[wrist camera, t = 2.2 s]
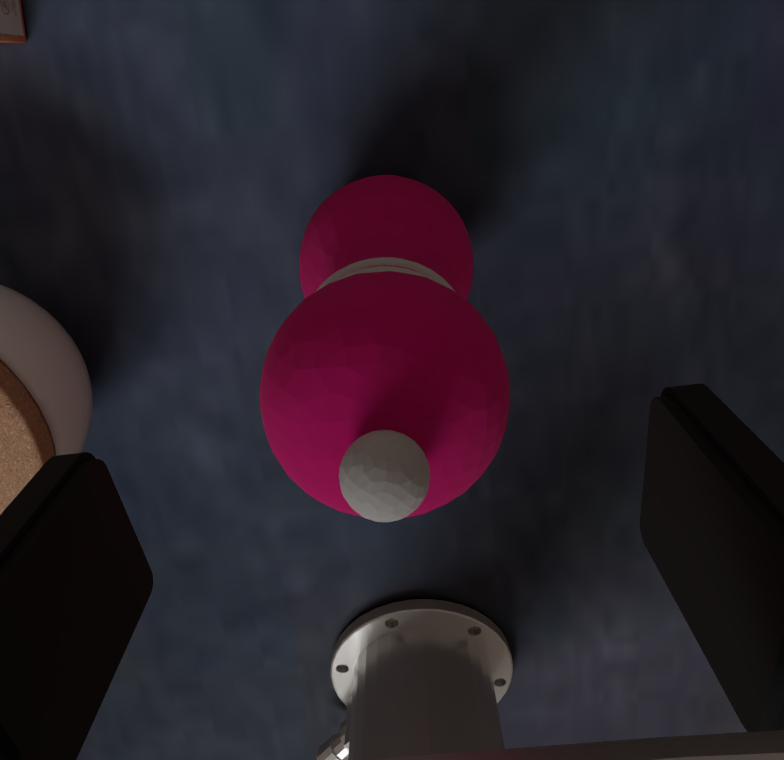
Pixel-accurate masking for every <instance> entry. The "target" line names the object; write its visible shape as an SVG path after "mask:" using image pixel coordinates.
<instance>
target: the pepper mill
mask: <svg viewBox="0 0 784 760" xmlns="http://www.w3.org/2000/svg"><path fill="white" fill-rule="evenodd" d="M473 271H474V270H473V254H472V248H471V243H470V239H469V235H468V232H467V230H466V227H465V225H464V223H463V220H462V219H461V217H460V216H459V214H458V213H457V211H456V210H455V208H454V207H453V206H452V205H451V204H450V203H449V202H448V201H447V199H445V198H444V197H443V196H442V195H441V194H439V193H438V192H437V191H436V190H434V189H432V188H430V187H429V186H427V185H425V184H423V183H421V182H418V181H415V180H413V179H410V178H405V177H401V176H397V175H377V176H371V177H366V178H363V179H359V180H357V181H354V182H351V183H349V184H347V185H346V186H344V187H342V188H340V189H338V190H337V191H335V192H334V193H333V194H332V195H331V196H330V197H328V198H327V199H326V200H325V201H324V202H323V203H322V204H321V205H320V207H319V208H318V209H317V211H316V212H315V213H314V215H313V216H312V218H311V220H310V222H309V224H308V226H307V228H306V230H305V234H304V237H303V241H302V245H301V250H300V267H299V276H300V281H301V286H302V291H303V294H304V296H305V299H304V300H303V301H302V302H301V303H300V304H299V305H298V306H297V308H296V309H295V310H294V311H293V312H292V313H291V314H290V315H289V316H288V317H287V319H286V320H285V321H284V323H283V324H282V326H281V327H280V329H279V330H278V332H277V333H276V335H275V337H274V339H273V341H272V343H271V345H270V347H269V349H268V352H267V356H266V359H265V363H264V366H263V371H262V377H261V383H260V409H261V414H262V420H263V425H264V430H265V433H266V435H267V438H268V441H269V444H270V446H271V449H272V451H273V453H274V455H275V456H276V458H277V459H278V461H279V462H280V464H281V466H282V467H283V469H284V470H285V472H286V473H287V475H288V476H289V477H290V478H291V479H292V480H293V481H294V482H295V483H296V484H297V485H298V486H300V487H301V488H302V489H303V490H304V491H305V492H306V493H308V494H309V495H310V496H312V497H313V498H315V499H316V500H318V501H320V502H322V503H324V504H326V505H328V506H330V507H332V508H334V509H336V510H338V511H340V512H344V513H349V514H353V515H357V516H361V517H364V518H366V519H370V520H373V521H376V522H392V521H397V520H400V519H402V518H407V517H411V516H416V515H421V514H425V513H427V512H429V511H431V510H434V509H436V508H438V507H440V506H443V505H445V504H447V503H449V502H450V501H452V500H453V499H455V498H457V497H458V496H460V495H461V494H463V493H465V492H466V491H467V490H468V489H469V488H470V487H471V486H472V485H473V484H474V483H475V482H476V481H477V480H478V479H479V478H480V477H481V476H482V475H483V473H484V472H485V470H486V469H487V467H488V466H489V464H490V463H491V461H492V460H493V458H494V457H495V455H496V453H497V451H498V449H499V447H500V444H501V441H502V438H503V436H504V433H505V430H506V427H507V420H508V413H509V406H510V383H509V377H508V371H507V366H506V363H505V360H504V357H503V354H502V352H501V349H500V346H499V344H498V341H497V339H496V336H495V334H494V333H493V331H492V330H491V328H490V327H489V325H488V324H487V323H486V321H485V320H484V319H483V318H482V316H481V315H480V314H479V313H478V312H477V310H476V309H475V308H474V307H473V306H472V304H470V303H469V302H468V301H467V299H468V296H469V292H470V289H471V285H472V278H473Z"/></svg>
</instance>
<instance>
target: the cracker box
mask: <svg viewBox="0 0 784 760" xmlns="http://www.w3.org/2000/svg"><path fill="white" fill-rule="evenodd" d="M0 42H3V43H22V44H24V43H26V34H25V27H24V20H23V13H22V6H21V0H0Z"/></svg>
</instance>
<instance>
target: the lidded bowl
mask: <svg viewBox="0 0 784 760" xmlns="http://www.w3.org/2000/svg"><path fill="white" fill-rule="evenodd" d="M92 406H93V396H92V386H91V382H90V378H89V374H88V370H87V367H86V364H85V362H84V359H83V357H82V355H81V353H80V351H79V349H78V347H77V346H76V344H75V342H74V341H73V339H72V338H71V336H70V335H69V334H68V333H67V331H66V330H65V329H64V328H63V326H62V325H61V324H60V323H59V322H58V321H57V320H56V319H55V318H54V317H53V316H52V315H51V314H50V313H49V312H47V311H46V310H45V309H43V308H42V307H41V306H39V305H38V304H37V303H35V302H34V301H33V300H31V299H29V298H28V297H26V296H24V295H22V294H21V293H19V292H17V291H15V290H13V289H11V288H8V287H6V286H3V285H1V284H0V515H1V513H2V512H3V511H4V510H5V509H6V508H7V506H8V505H9V504H10V503H11V502H12V501H13V500H14V498H15V497H16V496H17V495H18V494H19V493H20V491H21V490H22V489H23V488H24V487H25V486H26V485H27V483H28V482H29V481H30V480H31V479H32V478H33V476H34V475H35V474H36V473H37V472H38V471H39V470H40V468H41V467H42V466H43V465H44V464H45V463H46V462H47V460H48V459H50V458H51V457H53V456H57V455H66V454H75V453H81V452H82V450H83V447H84V444H85V441H86V438H87V435H88V432H89V429H90V426H91V417H92Z"/></svg>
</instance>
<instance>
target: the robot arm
mask: <svg viewBox="0 0 784 760" xmlns="http://www.w3.org/2000/svg"><path fill="white" fill-rule="evenodd" d="M640 530H641V535H642V538H643V542H644V544H645V546H646V548H647V550H648V551H649V553H650V555H651V557H652V559H653V561H654V562H655V564H656V566H657V568H658V570H659V572H660V574H661V575H662V577H663V579H664V581H665V583H666V585H667V586H668V588H669V590H670V592H671V594H672V596H673V598H674V599H675V601H676V603H677V605H678V607H679V609H680V610H681V612H682V614H683V616H684V618H685V620H686V621H687V623H688V625H689V627H690V629H691V631H692V633H693V634H694V636H695V638H696V640H697V642H698V644H699V645H700V647H701V649H702V651H703V653H704V655H705V657H706V658H707V660H708V662H709V664H710V666H711V668H712V669H713V671H714V673H715V675H716V677H717V679H718V681H719V682H720V684H721V686H722V688H723V690H724V692H725V693H726V695H727V697H728V699H729V701H730V703H731V704H732V706H733V708H734V710H735V712H736V714H737V716H738V717H739V719H740V721H741V723H742V724H743V726H744V728H745V729H746V730H747V731H748V732H742V733H725V734H708V735H691V736H674V737H657V738H642V739H629V740H616V741H603V742H590V743H577V744H563V745H550V746H537V747H524V748H511V749H505V747H504V741H503V735H502V730H501V724H500V718H499V713H498V707H497V703H498V702H499V701H500V700H501V698H502V697H503V696H504V694H505V693H506V692H507V690H508V687H509V685H510V683H511V680H512V674H513V663H512V656H511V651H510V648H509V645H508V642H507V639H506V638H505V636H504V634H503V633H502V631H501V630H500V629H499V628H498V627H497V626H496V625H495V624H494V623H493V622H492V621H491V620H490V619H489V618H487V617H486V616H484V615H483V614H481V613H479V612H478V611H476V610H473V609H471V608H469V607H466V606H464V605H461V604H457V603H453V602H449V601H444V600H434V599H413V600H405V601H399V602H394V603H390V604H387V605H384V606H381V607H378V608H375V609H373V610H371V611H370V612H368V613H366V614H364V615H362V616H360V617H359V618H358V619H356V620H355V621H354V622H353V623H351V624H350V625H349V626H348V627H347V628H346V629H345V630H344V632H343V633H342V634H341V635H340V637H339V639H338V640H337V642H336V644H335V646H334V650H333V655H332V659H331V680H332V684H333V688H334V689H335V691H336V693H337V695H338V697H339V698H340V700H341V701H342V702H343V703H344V704H345V705H346V707H347V713H346V719H345V720H344V721H343V722H342V723H341V726H340V730H339V731H340V732H339V733H338V734H335V735H333V736H332V737H331V738H330V739H329V740H327V741H326V742H325V743H324V744H323V745H322V746H320V748H319V749H318V751H317V760H784V463H783V462H782V461H781V460H780V459H779V458H778V457H777V456H776V455H775V454H774V453H773V452H772V451H771V450H770V449H769V448H768V447H767V446H766V445H765V444H764V443H763V442H762V441H761V440H760V439H759V438H758V437H757V436H756V435H755V434H754V433H753V432H752V431H751V430H750V429H749V428H748V427H747V426H746V425H745V424H744V423H743V422H742V421H741V420H740V419H739V418H738V417H737V416H736V415H735V414H734V413H733V412H732V411H731V410H730V409H729V408H728V407H727V406H726V405H725V404H724V403H723V402H722V401H721V400H720V399H719V398H718V397H717V396H716V395H715V394H714V393H713V392H712V391H711V390H710V389H709V388H708V387H707V386H705V385H704V384H693V385H684V386H675V387H666V388H665V389H664V390H663V391H662V394H661V397H655V398H653V399H652V402H651V406H650V416H649V427H648V438H647V449H646V460H645V472H644V483H643V494H642V505H641V516H640ZM152 587H153V575H152V571H151V569H150V566H149V564H148V562H147V559H146V557H145V555H144V552H143V550H142V548H141V545H140V543H139V541H138V538H137V536H136V534H135V531H134V529H133V527H132V524H131V522H130V520H129V517H128V515H127V513H126V510H125V508H124V506H123V503H122V501H121V499H120V496H119V494H118V492H117V489H116V487H115V485H114V482H113V480H112V478H111V475H110V473H109V471H108V468H107V466H106V465H105V463H104V462H103V461H102V460H99V459H96V458H95V457H94V456H93V455H92V454H91V453H87V452H84V453H75V454H66V455H57V456H53V457H51V458H50V459H48V460H47V462H46V463H45V464H44V465H43V466H42V467H41V468H40V470H39V471H38V472H37V473H36V474H35V475H34V476H33V478H32V479H31V480H30V481H29V482H28V483H27V485H26V486H25V487H24V488H23V489H22V490H21V491H20V493H19V494H18V495H17V496H16V497H15V498H14V500H13V501H12V502H11V503H10V504H9V505H8V506H7V508H6V509H5V510H4V511H3V512H2V513H1V515H0V760H76V759H77V757H78V754H79V752H80V750H81V748H82V745H83V743H84V741H85V739H86V737H87V734H88V732H89V730H90V728H91V725H92V723H93V721H94V719H95V717H96V714H97V712H98V710H99V708H100V705H101V703H102V701H103V699H104V697H105V694H106V692H107V690H108V688H109V685H110V683H111V681H112V679H113V677H114V674H115V672H116V670H117V668H118V665H119V663H120V661H121V659H122V657H123V654H124V652H125V650H126V648H127V645H128V643H129V641H130V639H131V637H132V634H133V632H134V630H135V628H136V625H137V623H138V621H139V619H140V617H141V614H142V612H143V610H144V608H145V605H146V603H147V601H148V599H149V597H150V594H151V591H152Z"/></svg>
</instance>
